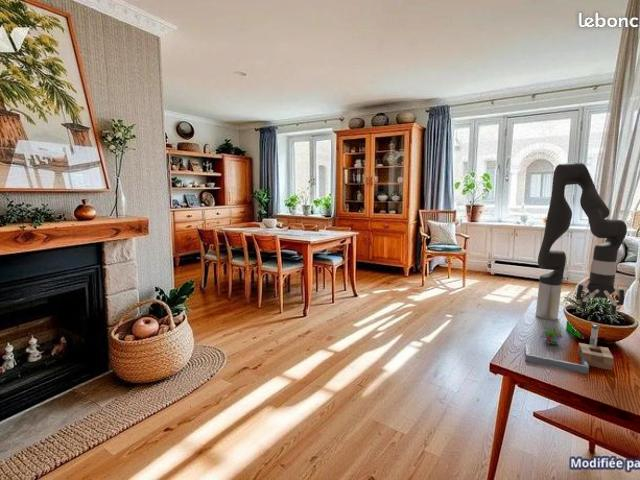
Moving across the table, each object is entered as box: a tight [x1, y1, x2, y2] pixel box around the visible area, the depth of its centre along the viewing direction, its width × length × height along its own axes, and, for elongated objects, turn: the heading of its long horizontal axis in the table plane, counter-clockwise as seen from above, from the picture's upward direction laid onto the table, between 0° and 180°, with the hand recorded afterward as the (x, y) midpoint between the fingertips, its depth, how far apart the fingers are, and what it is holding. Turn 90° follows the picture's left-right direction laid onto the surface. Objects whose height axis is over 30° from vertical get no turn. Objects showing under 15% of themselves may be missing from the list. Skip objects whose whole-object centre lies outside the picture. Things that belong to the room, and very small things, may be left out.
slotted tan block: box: [576, 342, 615, 371], centre depth 133 cm, size 9×9×4 cm
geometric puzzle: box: [540, 327, 563, 347], centre depth 146 cm, size 7×7×8 cm
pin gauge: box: [588, 324, 600, 346], centre depth 140 cm, size 3×3×11 cm
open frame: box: [524, 343, 590, 375], centre depth 133 cm, size 10×19×2 cm, turn 62°
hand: (597, 312), depth 138 cm, fingers open, 8 cm apart
